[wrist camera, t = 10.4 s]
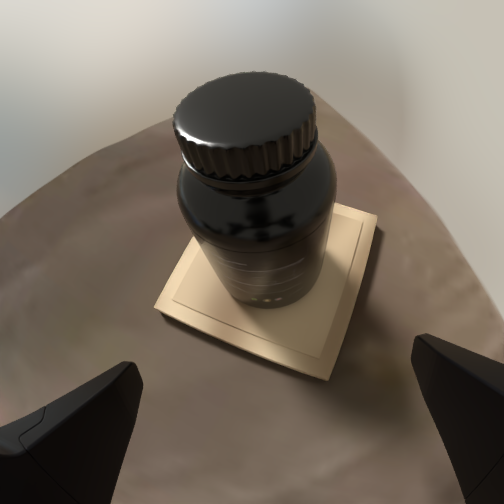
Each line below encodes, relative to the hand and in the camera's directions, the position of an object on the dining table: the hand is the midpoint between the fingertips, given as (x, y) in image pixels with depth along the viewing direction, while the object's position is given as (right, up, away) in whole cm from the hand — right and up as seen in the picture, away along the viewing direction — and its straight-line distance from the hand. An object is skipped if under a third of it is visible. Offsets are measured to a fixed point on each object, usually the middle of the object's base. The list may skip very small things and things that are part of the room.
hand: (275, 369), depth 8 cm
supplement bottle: (0, +3, +11) cm, 11 cm away
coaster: (+1, +2, +12) cm, 12 cm away
